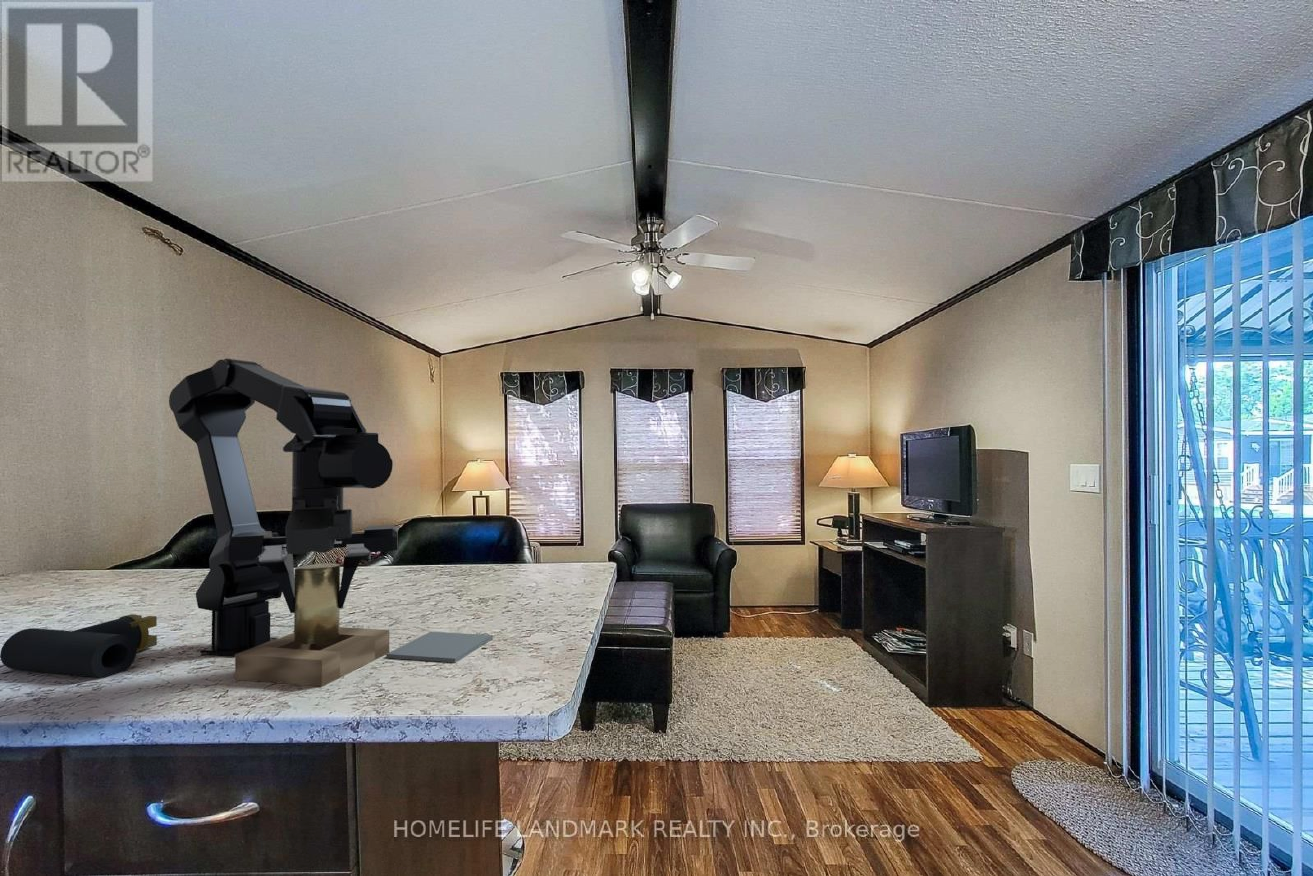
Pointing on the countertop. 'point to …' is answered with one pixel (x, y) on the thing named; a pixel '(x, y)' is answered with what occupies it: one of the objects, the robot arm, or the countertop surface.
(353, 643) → the housing
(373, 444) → the robot arm
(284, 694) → the countertop surface
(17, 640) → the pipe connector
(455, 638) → the mat
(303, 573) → the end plug
